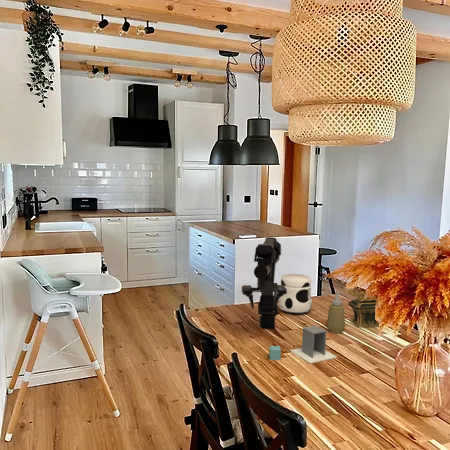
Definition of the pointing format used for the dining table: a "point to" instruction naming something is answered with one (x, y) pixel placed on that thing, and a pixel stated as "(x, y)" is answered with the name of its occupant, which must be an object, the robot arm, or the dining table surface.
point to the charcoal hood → (313, 340)
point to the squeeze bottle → (336, 316)
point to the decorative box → (363, 310)
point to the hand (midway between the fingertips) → (263, 309)
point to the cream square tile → (316, 356)
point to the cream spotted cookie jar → (296, 294)
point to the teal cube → (274, 352)
